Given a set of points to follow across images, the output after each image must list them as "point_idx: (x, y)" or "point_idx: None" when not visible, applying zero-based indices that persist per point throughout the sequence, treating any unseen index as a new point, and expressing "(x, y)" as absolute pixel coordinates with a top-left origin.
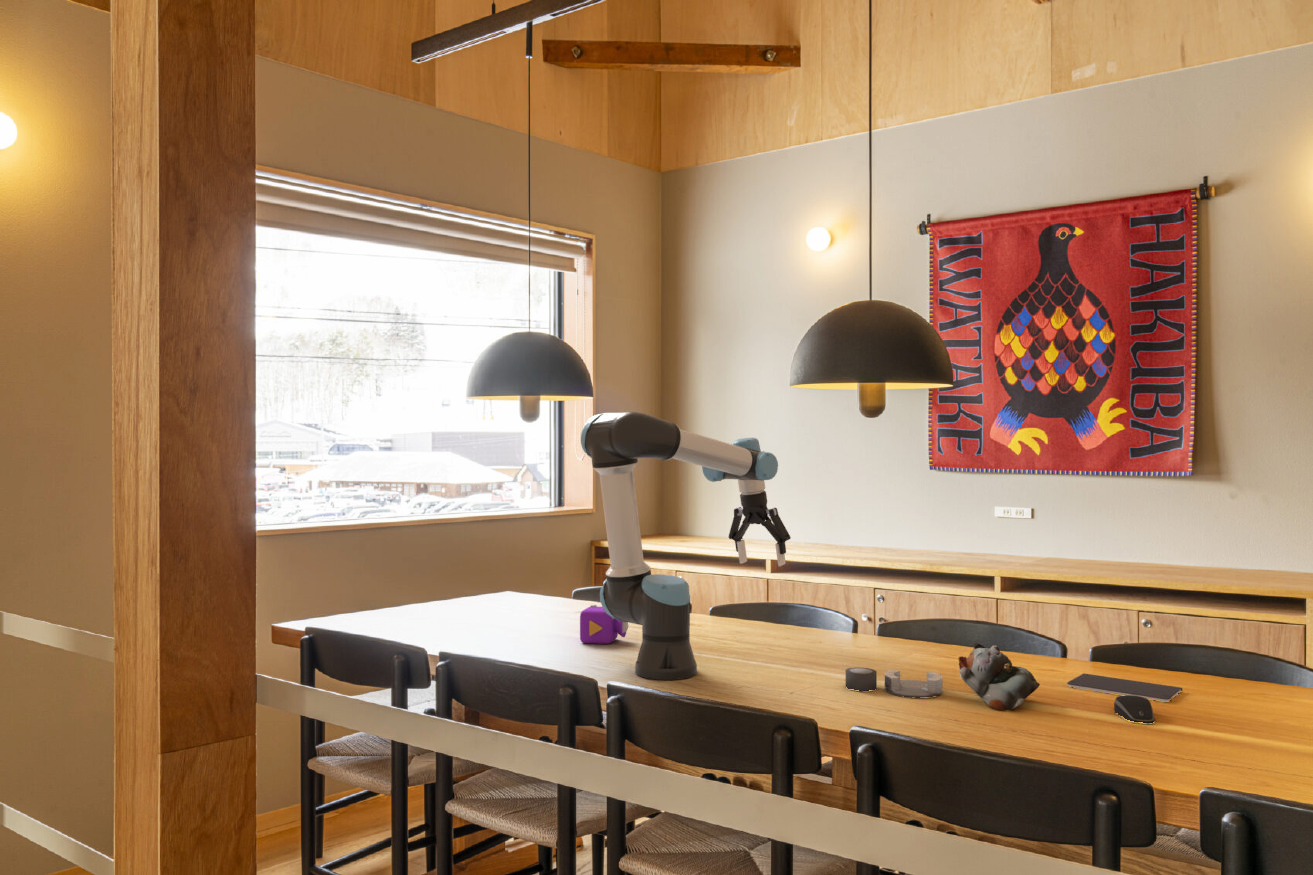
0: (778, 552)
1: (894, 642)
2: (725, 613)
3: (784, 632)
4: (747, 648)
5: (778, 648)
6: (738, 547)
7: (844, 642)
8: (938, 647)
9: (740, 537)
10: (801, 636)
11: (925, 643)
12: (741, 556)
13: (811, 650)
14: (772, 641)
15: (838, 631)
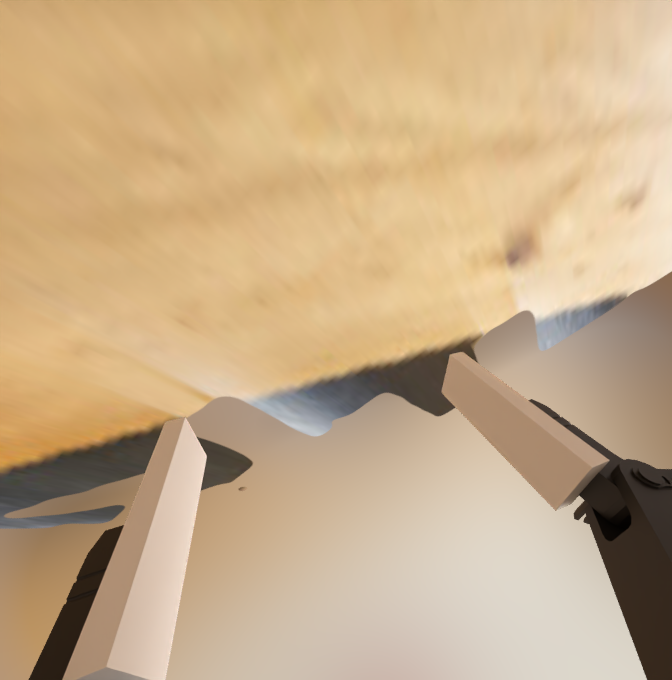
0: (122, 533)
1: (106, 411)
2: None
3: (308, 332)
4: (216, 92)
5: (161, 181)
6: (549, 423)
7: (152, 353)
8: (17, 437)
9: (608, 520)
10: (258, 331)
11: (71, 437)
12: (479, 383)
13: (83, 234)
14: (255, 249)
15: (251, 396)
